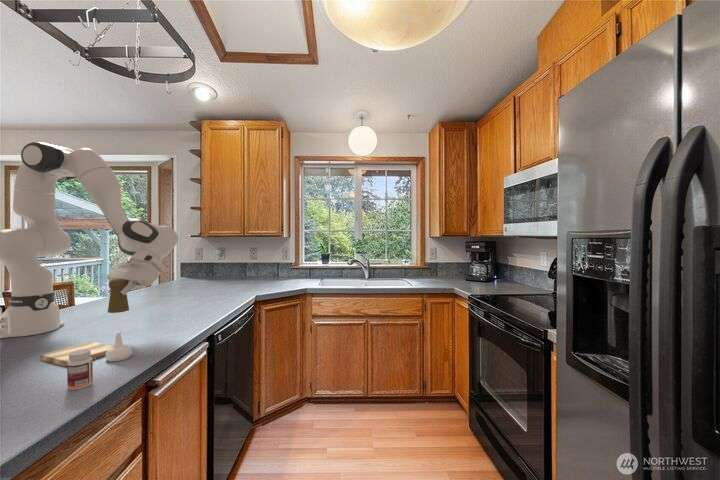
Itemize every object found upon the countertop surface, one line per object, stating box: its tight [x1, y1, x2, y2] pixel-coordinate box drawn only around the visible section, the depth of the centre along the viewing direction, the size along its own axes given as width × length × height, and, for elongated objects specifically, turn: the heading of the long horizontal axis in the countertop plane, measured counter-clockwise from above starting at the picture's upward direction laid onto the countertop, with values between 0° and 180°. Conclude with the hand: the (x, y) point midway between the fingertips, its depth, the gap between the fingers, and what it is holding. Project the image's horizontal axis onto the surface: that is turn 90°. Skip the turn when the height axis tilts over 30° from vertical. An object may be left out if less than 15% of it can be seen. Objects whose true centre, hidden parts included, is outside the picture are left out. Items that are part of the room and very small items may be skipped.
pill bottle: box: [66, 349, 94, 391], centre depth 80 cm, size 5×5×8 cm
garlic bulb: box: [105, 331, 133, 363], centre depth 98 cm, size 6×6×8 cm
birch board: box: [40, 340, 114, 367], centre depth 100 cm, size 14×13×2 cm
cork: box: [107, 279, 130, 314], centre depth 113 cm, size 6×6×11 cm
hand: (116, 293), depth 112 cm, fingers closed on cork, 4 cm apart
